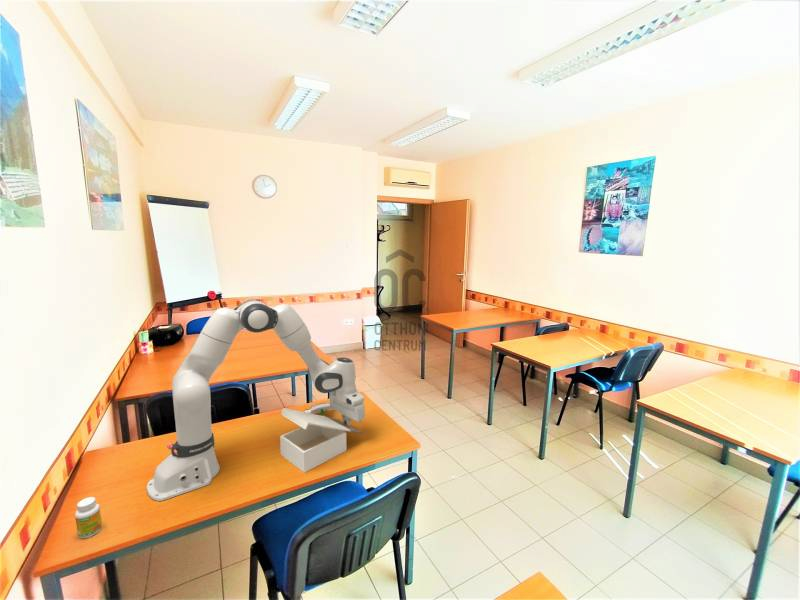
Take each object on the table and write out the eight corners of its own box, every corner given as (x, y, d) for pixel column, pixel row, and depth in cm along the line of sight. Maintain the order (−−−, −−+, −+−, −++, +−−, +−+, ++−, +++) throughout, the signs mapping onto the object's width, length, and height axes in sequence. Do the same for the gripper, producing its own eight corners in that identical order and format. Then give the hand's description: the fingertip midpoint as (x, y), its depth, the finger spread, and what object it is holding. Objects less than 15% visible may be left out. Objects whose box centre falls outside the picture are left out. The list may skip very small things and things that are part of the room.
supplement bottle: (79, 542, 100) (75, 511, 99) (76, 531, 104) (72, 502, 103) (103, 531, 104) (100, 501, 103) (100, 521, 108) (96, 492, 107)
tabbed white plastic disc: (333, 406, 184) (336, 393, 178) (337, 420, 179) (340, 407, 172) (304, 412, 178) (305, 398, 172) (306, 426, 173) (308, 412, 166)
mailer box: (304, 472, 132) (303, 452, 131) (280, 454, 143) (279, 436, 142) (346, 450, 147) (346, 432, 145) (322, 435, 158) (321, 418, 157)
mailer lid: (305, 429, 130) (308, 422, 131) (280, 414, 142) (283, 407, 142) (360, 438, 152) (362, 432, 152) (335, 424, 163) (337, 418, 164)
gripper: (325, 390, 159) (326, 418, 161) (355, 403, 145) (356, 434, 147) (337, 385, 163) (338, 413, 166) (367, 398, 150) (367, 428, 152)
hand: (347, 423), depth 156 cm, fingers closed, pressing on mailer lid
